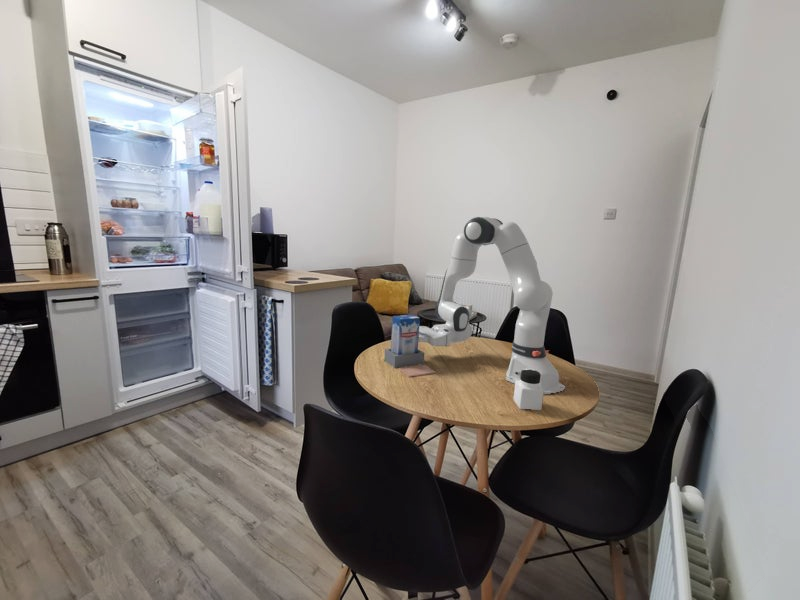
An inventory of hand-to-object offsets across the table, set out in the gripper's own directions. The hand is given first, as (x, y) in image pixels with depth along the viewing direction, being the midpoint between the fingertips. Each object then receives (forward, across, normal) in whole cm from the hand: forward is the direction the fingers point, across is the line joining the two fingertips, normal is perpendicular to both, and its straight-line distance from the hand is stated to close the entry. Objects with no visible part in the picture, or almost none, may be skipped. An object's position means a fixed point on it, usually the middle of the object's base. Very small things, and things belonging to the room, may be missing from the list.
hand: (412, 336), depth 150 cm
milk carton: (+4, 0, +11) cm, 12 cm away
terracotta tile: (+4, +11, +11) cm, 16 cm away
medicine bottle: (-17, +50, +11) cm, 54 cm away
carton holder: (+4, 0, +11) cm, 12 cm away
